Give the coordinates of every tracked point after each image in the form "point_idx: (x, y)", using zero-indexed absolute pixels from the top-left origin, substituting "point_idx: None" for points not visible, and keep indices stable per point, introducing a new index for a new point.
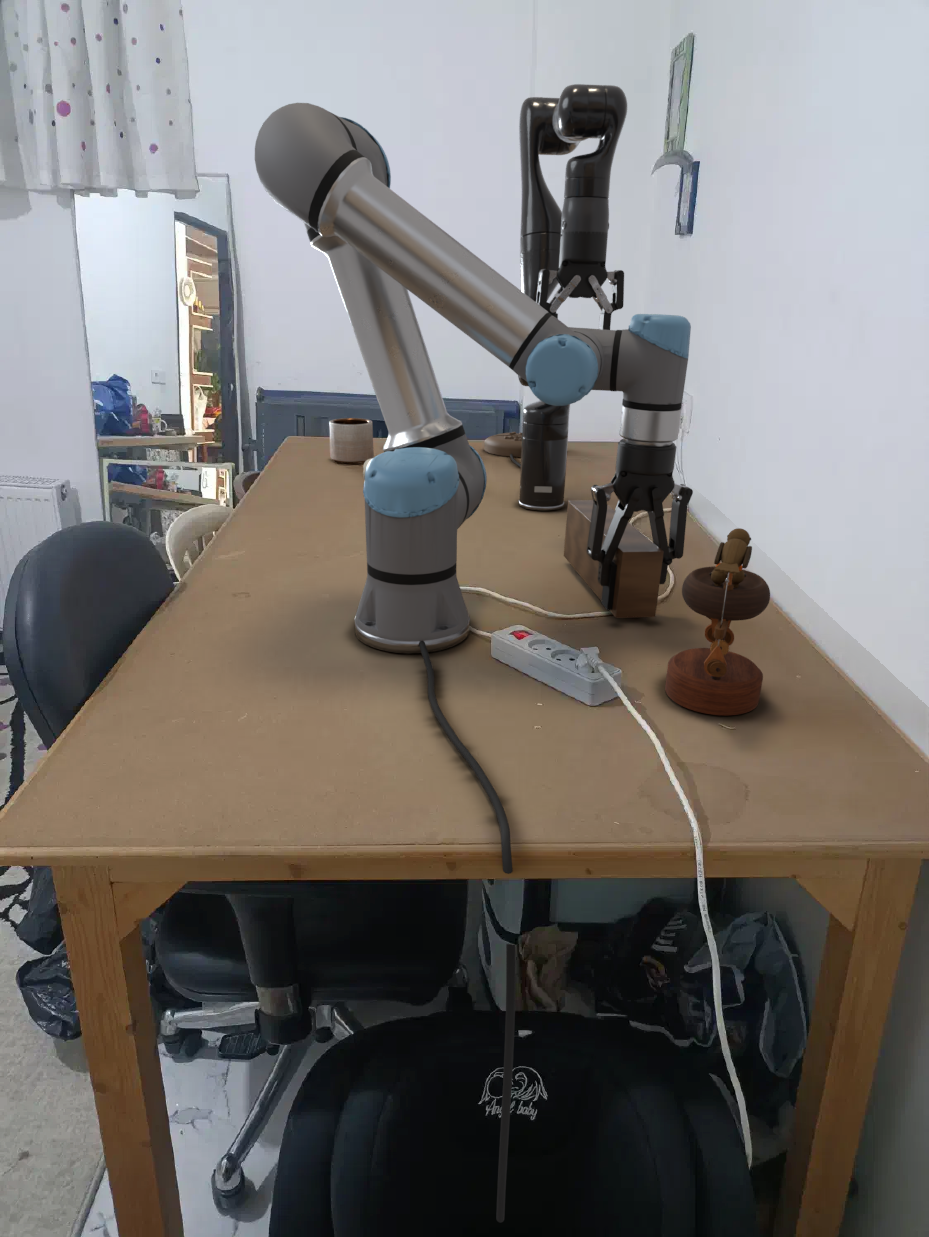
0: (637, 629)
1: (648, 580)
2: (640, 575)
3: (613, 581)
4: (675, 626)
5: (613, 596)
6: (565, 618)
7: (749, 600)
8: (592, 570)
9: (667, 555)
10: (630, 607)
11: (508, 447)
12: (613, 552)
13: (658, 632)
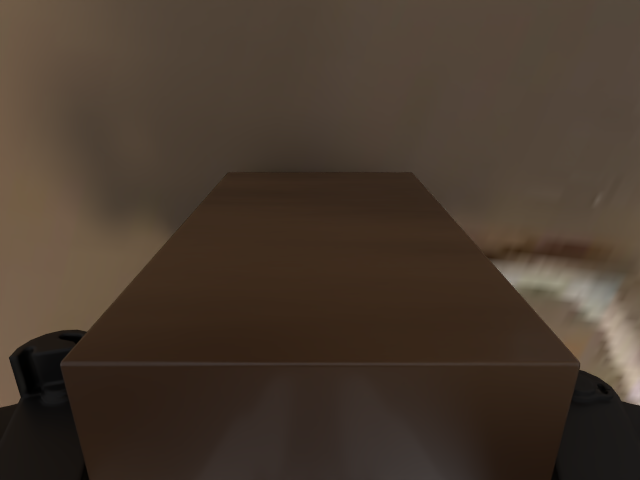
0: (327, 112)
1: (258, 233)
2: (321, 247)
3: None
4: (150, 124)
5: None
6: (567, 256)
7: None
8: None
9: (34, 414)
10: (353, 183)
11: None
12: (574, 447)
13: (246, 66)
